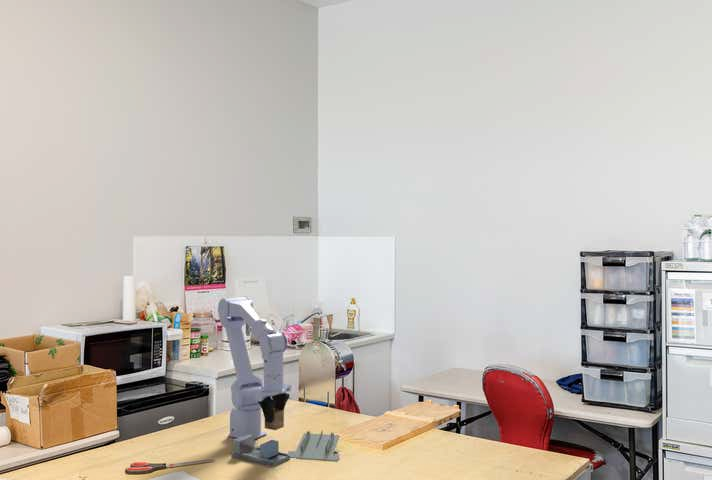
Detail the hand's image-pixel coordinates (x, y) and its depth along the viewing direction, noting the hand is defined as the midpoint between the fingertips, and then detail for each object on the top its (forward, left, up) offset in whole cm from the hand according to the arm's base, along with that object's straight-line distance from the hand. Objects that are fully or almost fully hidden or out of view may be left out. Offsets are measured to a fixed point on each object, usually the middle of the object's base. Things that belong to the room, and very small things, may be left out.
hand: (273, 420), depth 199 cm
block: (0, 0, -2) cm, 2 cm away
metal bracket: (+13, +4, -9) cm, 16 cm away
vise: (+2, -8, -8) cm, 12 cm away
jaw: (+5, -8, -7) cm, 12 cm away
